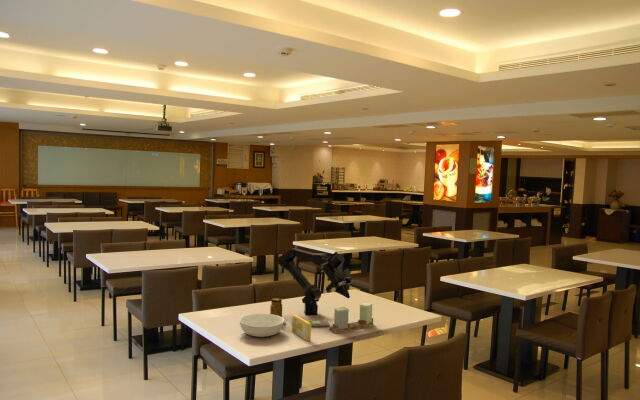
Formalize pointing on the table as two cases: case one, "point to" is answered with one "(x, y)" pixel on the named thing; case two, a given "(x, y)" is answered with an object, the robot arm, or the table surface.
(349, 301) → the table surface
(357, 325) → the brown holder tray
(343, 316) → the slate key
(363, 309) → the sage key
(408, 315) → the table surface
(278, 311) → the condiment
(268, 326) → the serving bowl
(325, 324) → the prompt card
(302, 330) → the candy box
